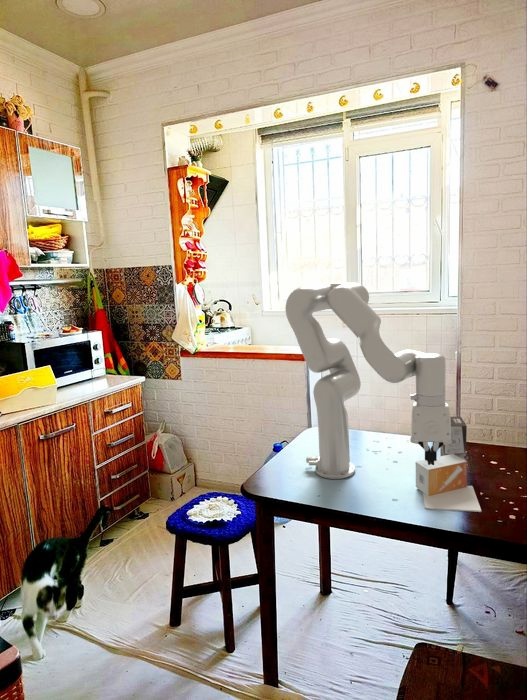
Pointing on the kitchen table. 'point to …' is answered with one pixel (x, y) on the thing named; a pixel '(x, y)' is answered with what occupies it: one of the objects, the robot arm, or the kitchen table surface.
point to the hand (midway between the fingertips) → (430, 462)
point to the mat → (453, 500)
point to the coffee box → (456, 439)
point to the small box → (441, 475)
